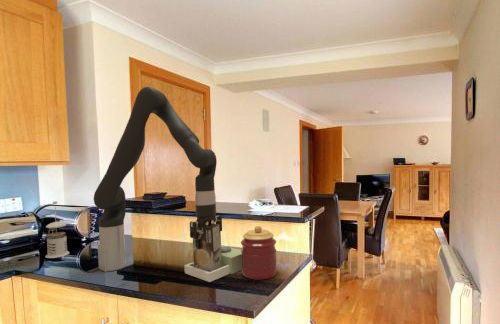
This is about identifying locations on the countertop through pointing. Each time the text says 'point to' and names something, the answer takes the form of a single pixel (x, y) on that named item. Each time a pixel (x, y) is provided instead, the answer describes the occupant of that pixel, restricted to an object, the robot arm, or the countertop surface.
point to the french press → (56, 240)
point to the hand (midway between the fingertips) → (207, 246)
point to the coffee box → (208, 249)
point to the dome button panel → (229, 266)
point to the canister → (258, 254)
